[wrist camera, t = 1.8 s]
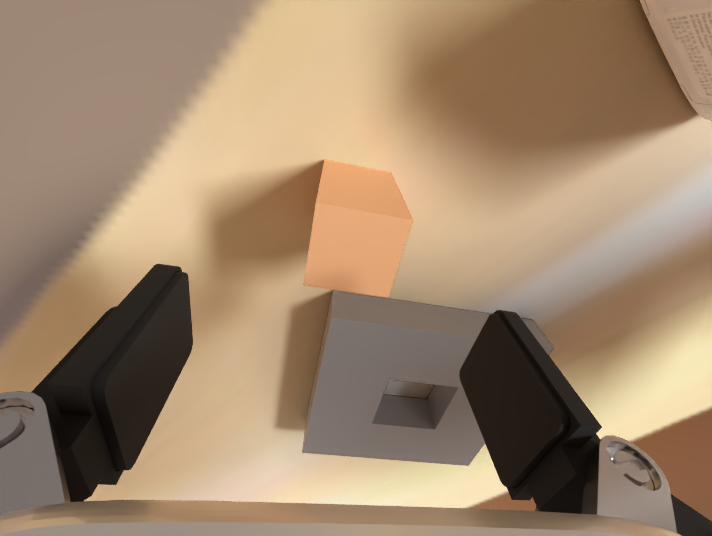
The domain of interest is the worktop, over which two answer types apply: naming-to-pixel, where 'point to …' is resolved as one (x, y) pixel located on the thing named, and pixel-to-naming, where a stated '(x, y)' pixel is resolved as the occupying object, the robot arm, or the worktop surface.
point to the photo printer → (686, 46)
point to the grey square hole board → (395, 362)
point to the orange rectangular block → (357, 230)
